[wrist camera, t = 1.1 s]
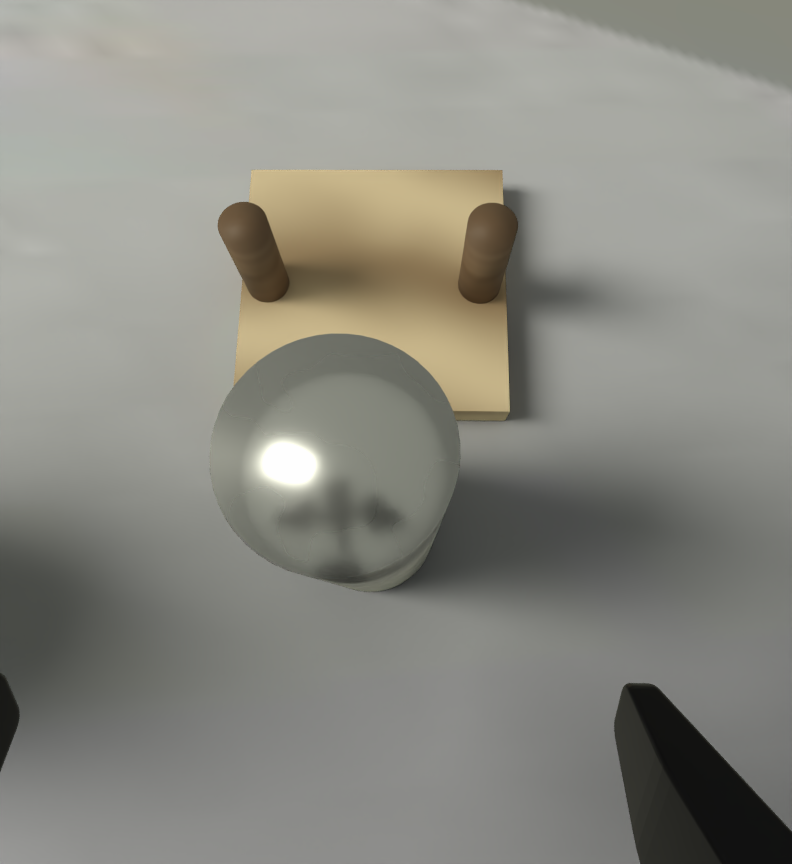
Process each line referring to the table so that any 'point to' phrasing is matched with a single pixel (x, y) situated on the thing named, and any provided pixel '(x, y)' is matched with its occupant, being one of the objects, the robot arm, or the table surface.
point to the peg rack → (381, 270)
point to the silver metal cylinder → (337, 460)
